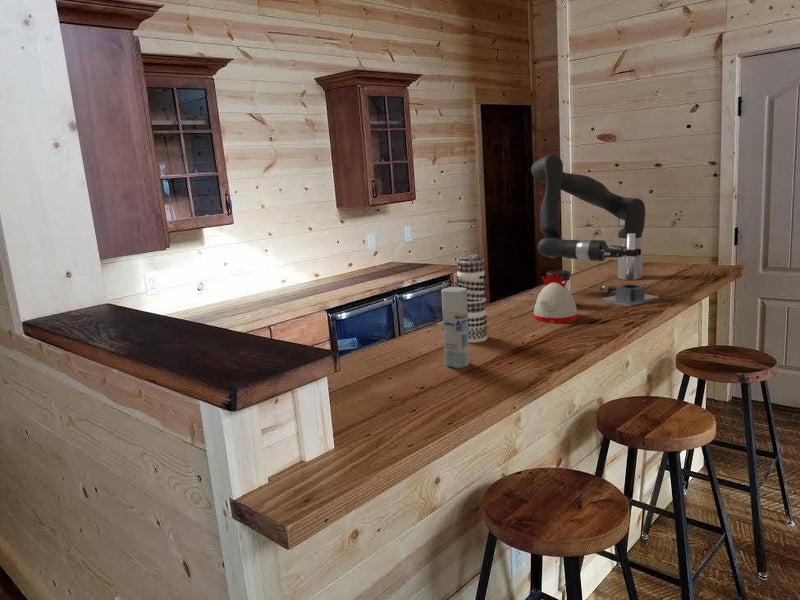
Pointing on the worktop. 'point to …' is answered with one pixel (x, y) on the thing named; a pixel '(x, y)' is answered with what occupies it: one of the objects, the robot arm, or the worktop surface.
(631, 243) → the steel rod
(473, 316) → the decorative candle
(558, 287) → the kitchen timer
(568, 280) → the jar
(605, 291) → the chuck key
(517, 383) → the worktop surface
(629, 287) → the chuck block
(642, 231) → the robot arm
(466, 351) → the spray paint can
